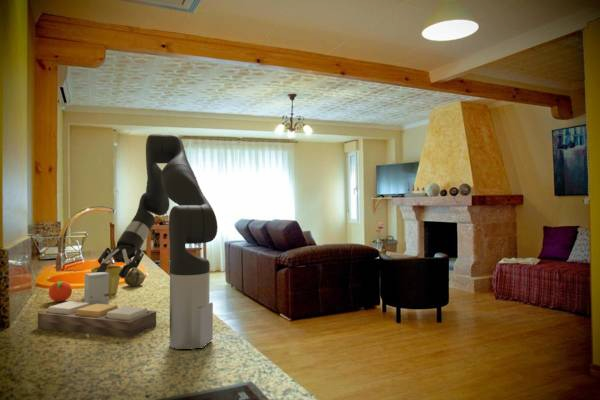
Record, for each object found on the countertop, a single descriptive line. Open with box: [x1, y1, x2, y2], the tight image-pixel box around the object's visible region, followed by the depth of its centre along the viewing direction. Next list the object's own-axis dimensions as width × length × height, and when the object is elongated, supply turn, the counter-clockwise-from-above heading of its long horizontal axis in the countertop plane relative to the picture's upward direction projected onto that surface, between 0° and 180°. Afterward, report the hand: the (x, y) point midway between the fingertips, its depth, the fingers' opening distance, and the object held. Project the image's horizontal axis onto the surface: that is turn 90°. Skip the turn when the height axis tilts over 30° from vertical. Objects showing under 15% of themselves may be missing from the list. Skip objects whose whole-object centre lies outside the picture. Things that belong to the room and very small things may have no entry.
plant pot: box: [90, 264, 123, 296], centre depth 155 cm, size 10×10×10 cm
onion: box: [123, 267, 146, 287], centre depth 170 cm, size 8×8×8 cm
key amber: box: [77, 304, 119, 317], centre depth 114 cm, size 7×7×2 cm
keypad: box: [37, 305, 157, 339], centre depth 114 cm, size 29×11×4 cm, turn 74°
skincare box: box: [83, 272, 110, 305], centre depth 128 cm, size 6×4×12 cm
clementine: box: [48, 280, 73, 303], centre depth 142 cm, size 8×7×7 cm
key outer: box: [48, 300, 89, 314], centre depth 116 cm, size 7×7×2 cm
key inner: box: [107, 305, 148, 320], centre depth 111 cm, size 7×7×2 cm
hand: (109, 276), depth 134 cm, fingers open, 8 cm apart
